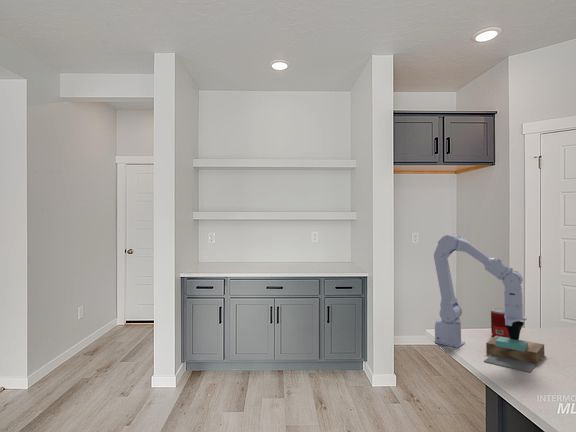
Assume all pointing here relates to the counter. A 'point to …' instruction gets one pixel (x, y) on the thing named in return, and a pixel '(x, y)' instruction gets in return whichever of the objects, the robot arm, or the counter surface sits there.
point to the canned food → (498, 323)
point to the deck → (529, 355)
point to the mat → (510, 363)
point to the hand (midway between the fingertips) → (514, 341)
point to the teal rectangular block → (511, 344)
